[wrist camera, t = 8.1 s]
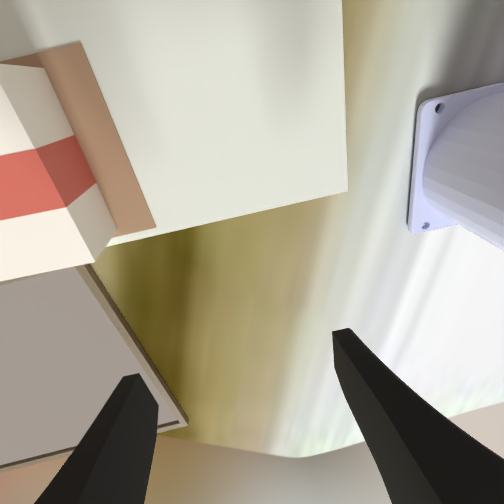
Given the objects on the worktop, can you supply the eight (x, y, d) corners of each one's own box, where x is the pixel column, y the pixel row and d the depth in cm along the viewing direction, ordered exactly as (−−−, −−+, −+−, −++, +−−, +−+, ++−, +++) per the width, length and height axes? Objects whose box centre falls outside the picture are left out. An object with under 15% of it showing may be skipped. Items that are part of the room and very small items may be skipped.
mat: (324, -393, 9) (330, -418, 8) (345, 188, 18) (348, 191, 17) (-396, -218, 9) (-427, -234, 8) (-7, 269, 18) (-13, 274, 17)
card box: (117, 229, 17) (95, 262, 14) (31, 246, 17) (-11, 283, 14) (44, 68, 13) (-11, 62, 10) (-69, 90, 13) (-162, 92, 10)
